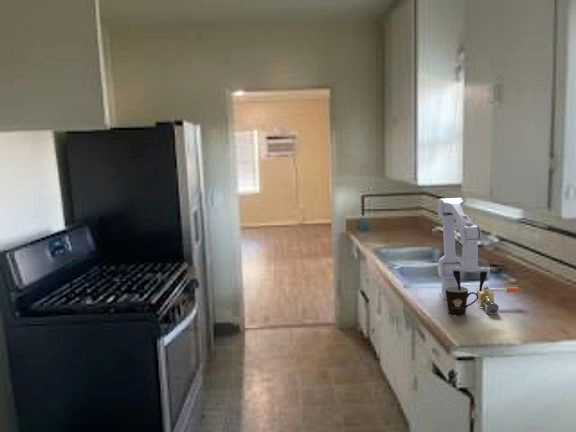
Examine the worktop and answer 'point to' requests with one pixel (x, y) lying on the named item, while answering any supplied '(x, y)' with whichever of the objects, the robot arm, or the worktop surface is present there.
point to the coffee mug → (457, 300)
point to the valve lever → (502, 289)
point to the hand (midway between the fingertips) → (469, 290)
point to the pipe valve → (487, 301)
